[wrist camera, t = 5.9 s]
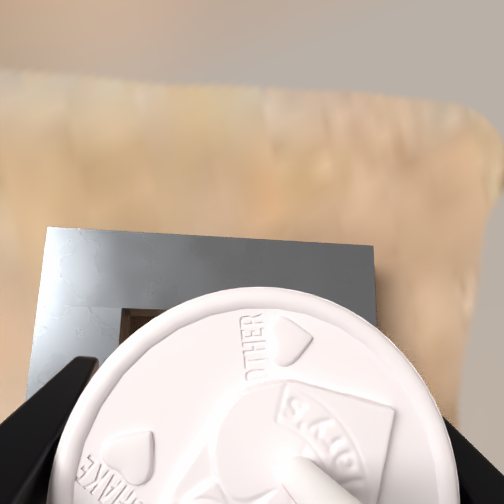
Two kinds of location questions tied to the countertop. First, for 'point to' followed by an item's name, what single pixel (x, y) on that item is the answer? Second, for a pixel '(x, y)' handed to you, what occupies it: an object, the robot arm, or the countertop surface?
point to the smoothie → (255, 412)
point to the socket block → (171, 284)
